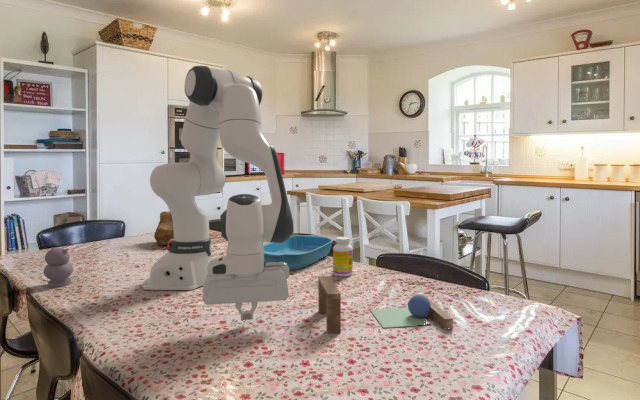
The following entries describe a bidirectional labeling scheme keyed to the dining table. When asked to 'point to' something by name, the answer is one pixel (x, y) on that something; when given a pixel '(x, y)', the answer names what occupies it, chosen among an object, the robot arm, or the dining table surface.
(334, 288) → the bridge
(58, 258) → the cat figurine
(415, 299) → the ball
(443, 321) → the stopper wall
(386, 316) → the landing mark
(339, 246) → the supplement bottle
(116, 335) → the dining table surface
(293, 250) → the casserole dish
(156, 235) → the rough brown rock
